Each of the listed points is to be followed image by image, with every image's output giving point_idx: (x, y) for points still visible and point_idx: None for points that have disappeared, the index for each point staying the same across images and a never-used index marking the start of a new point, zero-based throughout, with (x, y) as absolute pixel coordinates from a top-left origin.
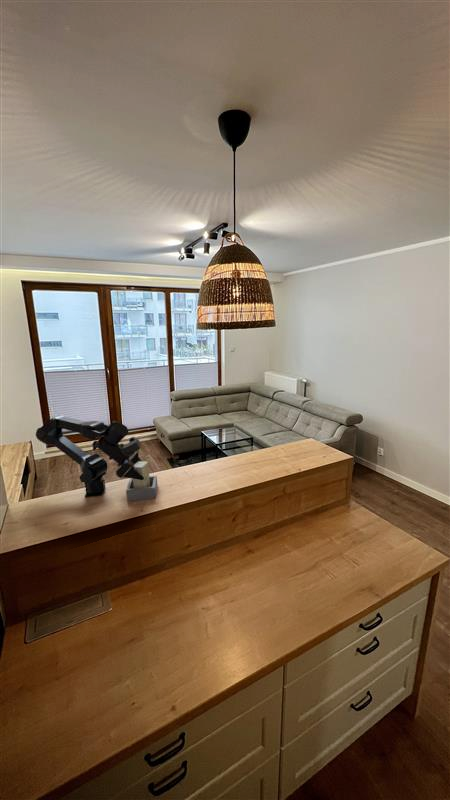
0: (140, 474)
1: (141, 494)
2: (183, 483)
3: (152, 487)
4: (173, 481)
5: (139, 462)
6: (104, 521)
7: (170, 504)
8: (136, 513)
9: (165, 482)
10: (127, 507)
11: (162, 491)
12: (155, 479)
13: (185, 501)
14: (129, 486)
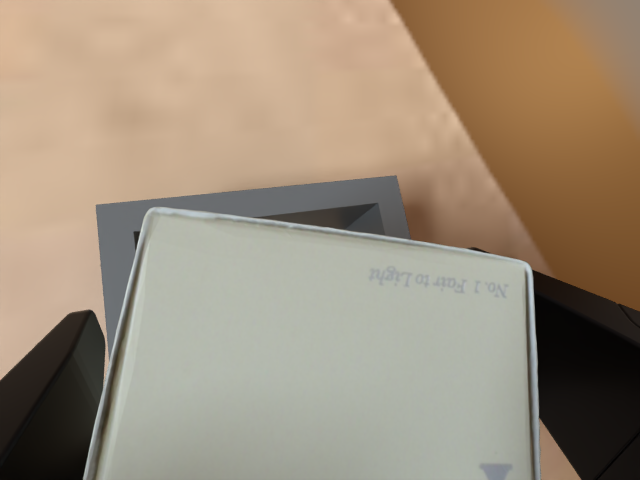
0: (545, 280)
1: None
2: (107, 20)
3: (393, 195)
4: (48, 102)
5: (206, 456)
6: None
7: (423, 100)
8: None
9: (61, 173)
10: None
11: (245, 174)
12: (210, 200)
13: (385, 15)
14: None
